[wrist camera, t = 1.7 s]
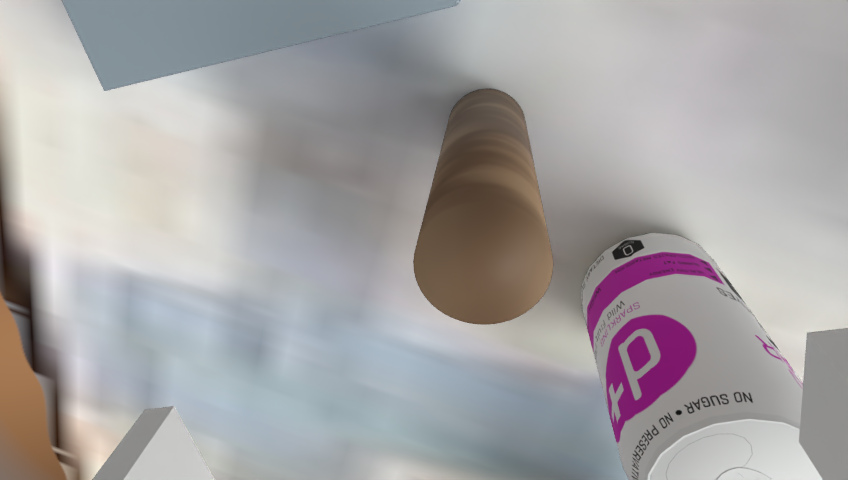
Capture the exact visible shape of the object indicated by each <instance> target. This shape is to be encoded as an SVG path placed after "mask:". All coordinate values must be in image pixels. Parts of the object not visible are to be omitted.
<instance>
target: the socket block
mask: <svg viewBox="0 0 848 480" xmlns="http://www.w3.org/2000/svg"><path fill="white" fill-rule="evenodd" d="M62 2H63V4H64V6H65V8H66V11H67V13H68V15H69V17H70V19H71V21H72V23H73V25H74V28H75V30H76V32H77V34H78V36H79V38H80V40H81V42H82V45H83V47H84V49H85V51H86V53H87V55H88V57H89V59H90V62H91V64H92V66H93V68H94V70H95V72H96V74H97V76H98V79H99V81H100V83H101V85H102V87H103V89H104V91H107V90H111V89H115V88H119V87H123V86H127V85H131V84H136V83H140V82H144V81H148V80H152V79H156V78H160V77H164V76H169V75H173V74H177V73H181V72H185V71H189V70H193V69H197V68H202V67H206V66H210V65H214V64H218V63H222V62H226V61H230V60H235V59H239V58H243V57H247V56H251V55H255V54H259V53H264V52H268V51H272V50H276V49H280V48H284V47H288V46H292V45H297V44H301V43H305V42H309V41H313V40H317V39H321V38H325V37H330V36H334V35H338V34H342V33H346V32H350V31H354V30H358V29H363V28H367V27H371V26H375V25H379V24H383V23H387V22H392V21H396V20H400V19H404V18H408V17H412V16H416V15H420V14H425V13H429V12H433V11H437V10H441V9H445V8H449V7H453V6H457V5H458V3H459V2H460V0H62Z"/></svg>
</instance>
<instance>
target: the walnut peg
mask: <svg viewBox="0 0 848 480" xmlns="http://www.w3.org/2000/svg"><path fill="white" fill-rule="evenodd" d="M413 263H414V273H415V278H416V281H417V283H418V286H419V288H420V290H421V291H422V293H423V294H424V296H425V297H426V298H427V300H428V301H429V302H430V303H431V304H432V305H433V306H434V307H436V308H437V309H438V310H440V311H441V312H443V313H444V314H446V315H448V316H450V317H452V318H454V319H457V320H459V321H463V322H467V323H473V324H496V323H501V322H505V321H509V320H512V319H514V318H516V317H519V316H520V315H522V314H524V313H526V312H527V311H528V310H530V309H531V308H532V307H533V306H535V305H536V304H537V303H538V302H539V300H540V299H541V298H542V297H543V295H544V294H545V292H546V290H547V288H548V286H549V284H550V281H551V277H552V273H553V257H552V252H551V247H550V242H549V237H548V232H547V227H546V222H545V217H544V212H543V207H542V202H541V197H540V192H539V187H538V182H537V177H536V172H535V167H534V162H533V157H532V152H531V147H530V142H529V137H528V132H527V127H526V122H525V117H524V114H523V111H522V109H521V107H520V106H519V104H518V103H517V102H516V101H515V100H514V99H513V98H512V97H511V96H509V95H508V94H506V93H504V92H501V91H498V90H494V89H481V90H477V91H473V92H471V93H469V94H467V95H465V96H464V97H463V98H461V99H460V100H459V101H458V102H457V104H456V105H455V106H454V108H453V110H452V111H451V114H450V117H449V121H448V124H447V128H446V132H445V136H444V140H443V144H442V148H441V152H440V156H439V159H438V163H437V167H436V171H435V175H434V179H433V183H432V187H431V191H430V194H429V198H428V202H427V206H426V210H425V214H424V218H423V222H422V226H421V229H420V233H419V237H418V241H417V245H416V249H415V253H414V261H413Z"/></svg>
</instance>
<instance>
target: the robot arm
mask: <svg viewBox="0 0 848 480" xmlns="http://www.w3.org/2000/svg"><path fill="white" fill-rule="evenodd" d="M799 443H800V445H801V446H802V448H803V449H804V451H805V452H806V454H807V456H808V457H809V459H810V460H811V462H812V463H813V465H814V467H815V468H816V470H817V471H818V473H819V474H820V476H821V477H822V479H823V480H848V328H844V329H835V330H827V331H818V332H809V333H807V340H806V353H805V367H804V380H803V393H802V406H801V419H800V432H799ZM92 480H215V479H214V477H213V476H212V474H211V472H210V470H209V468H208V467H207V465H206V463H205V461H204V459H203V457H202V456H201V454H200V452H199V450H198V448H197V447H196V445H195V443H194V441H193V439H192V438H191V436H190V434H189V432H188V430H187V428H186V427H185V425H184V423H183V421H182V419H181V418H180V416H179V414H178V412H177V410H176V408H175V407H174V406H171V407H163V408H154V409H146V410H144V411H143V413H142V414H141V415H140V417H139V418H138V419H137V421H136V422H135V423H134V425H133V426H132V427H131V429H130V430H129V431H128V433H127V434H126V435H125V437H124V438H123V439H122V441H121V442H120V443H119V445H118V446H117V447H116V449H115V450H114V451H113V453H112V454H111V455H110V457H109V458H108V459H107V461H106V462H105V463H104V465H103V466H102V467H101V469H100V470H99V471H98V473H97V474H96V475H95V477H94V478H93V479H92Z"/></svg>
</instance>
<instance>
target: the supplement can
mask: <svg viewBox="0 0 848 480" xmlns="http://www.w3.org/2000/svg"><path fill="white" fill-rule="evenodd" d="M581 306H582V309H583V313H584V317H585V321H586V325H587V329H588V333H589V337H590V341H591V345H592V348H593V352H594V356H595V360H596V364H597V368H598V372H599V376H600V380H601V384H602V388H603V391H604V395H605V399H606V403H607V407H608V411H609V415H610V419H611V423H612V427H613V430H614V434H615V438H616V442H617V446H618V450H619V454H620V458H621V462H622V466H623V469H624V471H625V473H626V475H627V477H628V479H629V480H823V479H822V477H821V476H820V474H819V473H818V471H817V470H816V468H815V467H814V465H813V463H812V462H811V460H810V459H809V457H808V456H807V454H806V452H805V451H804V449H803V448H802V446H801V445H800V443H799V432H800V419H801V406H802V393H803V382H802V381H801V380H800V378H799V377H798V376H797V374H796V373H795V371H794V370H793V369H792V367H791V366H790V365H789V363H788V362H787V360H786V359H785V358H784V356H783V355H782V354H781V352H780V351H779V349H778V348H777V347H776V345H775V344H774V343H773V341H772V340H771V338H770V337H769V336H768V334H767V333H766V331H765V330H764V329H763V327H762V326H761V325H760V323H759V322H758V320H757V319H756V318H755V316H754V315H753V314H752V312H751V311H750V309H749V308H748V307H747V305H746V304H745V303H744V301H743V300H742V298H741V297H740V296H739V294H738V293H737V292H736V290H735V289H734V287H733V286H732V285H731V283H730V282H729V280H728V279H727V278H726V276H725V275H724V274H723V272H722V271H721V269H720V268H719V267H718V265H717V264H716V263H715V261H714V260H713V259H712V258H711V257H710V256H709V255H708V254H707V253H706V252H705V251H704V250H703V248H702V247H701V246H700V245H699V244H697V243H694V242H692V241H690V240H687V239H685V238H683V237H681V236H678V235H672V234H660V233H649V234H644V235H640V236H635V237H631V238H627V239H625V240H623V241H621V242H619V243H617V244H616V245H614V246H612V247H610V248H608V249H607V250H605V251H604V252H603V253H602V254H601V255H600V256H599V257H598V258H597V260H596V261H595V262H594V263H593V264H592V265H591V266H590V267H589V269H588V272H587V274H586V276H585V279H584V281H583V283H582V286H581Z"/></svg>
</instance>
